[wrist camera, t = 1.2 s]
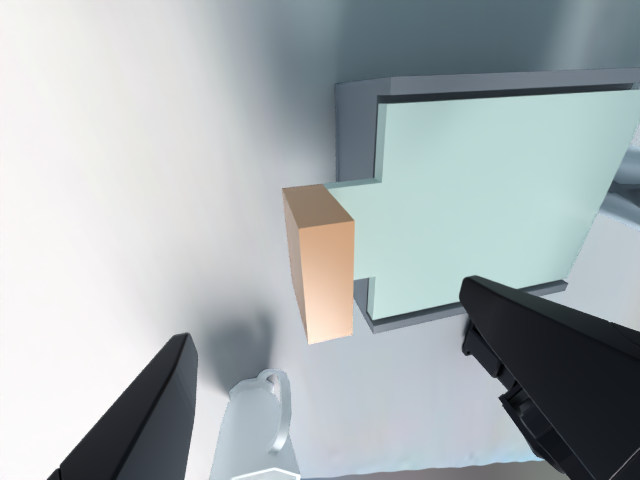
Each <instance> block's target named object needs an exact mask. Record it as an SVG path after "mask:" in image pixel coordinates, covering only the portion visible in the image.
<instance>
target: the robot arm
mask: <svg viewBox="0 0 640 480" xmlns="http://www.w3.org/2000/svg"><path fill="white" fill-rule="evenodd" d="M459 300H460V302H461V304H462V306H463V307H464V309H465V310H466V312H467V313H468V315H469V316H470V318H471V323H470V327H469V330H468V333H467V337H466V340H465V344H464V347H463V350H462V352H463V353H464V355H465V356H468V355H473V356H474V357H475V358H476V359H477V360H478V361H479V363H480V364H481V365H482V366H483V367H484V368H485V369H486V371H487V372H488V373H489V374H490V375H491V376H492V377H493V378H497V379H498V380H499V381H500V382H501V383H502V384H503V385H504V386H505V387H506V389H507V390H508V391H507V392H506V393H505V394H502V395H501V396H500V397H498V398H499V400H500V401H501V402H502V404H503V405H502V406H503V407H504V409H505V410H506V411H507V413H508V414H509V416H510V417H511V419H512V420H513V421H514V423H515V424H516V426H517V427H518V428H519V430H520V431H521V433H522V434H523V436H524V437H525V439H526V441H527V443H528V445H529V446H530V448H531V450H532V452H533V453H534V454H535V455H536V456H537V457H539V458H542V459H545V460H546V461H547V462H548V463H549V464H550V465H552V466H553V467H554V468H555V469H556V470H558V471H559V472H561V473H563V474H565V473H566V475H567V476H568V477H569V478H570V479H571V480H640V332H639V331H636V330H633V329H630V328H627V327H624V326H621V325H618V324H616V323H613V322H608V321H607V320H604V319H601V318H598V317H595V316H592V315H589V314H587V313H584V312H581V311H578V310H575V309H572V308H569V307H567V306H564V305H561V304H558V303H555V302H552V301H549V300H546V299H544V298H541V297H538V296H535V295H532V294H529V293H526V292H523V291H521V290H518V289H515V288H512V287H509V286H506V285H503V284H500V283H498V282H495V281H492V280H489V279H486V278H483V277H480V276H477V275H473V276H467V277H465V278H464V279H463V281H462V284H461V288H460V293H459ZM197 368H198V354H197V350H196V348H195V345H194V342H193V340H192V337H191V335H190V334H189V333H182V334H177V335H174V336H173V337H171V339H170V340H169V341H168V342H167V343H166V344H165V345H164V347H163V348H162V349H161V350H160V351H159V352H158V353H157V355H156V356H155V357H154V358H153V359H152V360H151V361H150V363H149V364H148V365H147V366H146V367H145V368H144V369H143V370H142V372H141V373H140V374H139V375H138V376H137V377H136V378H135V380H134V381H133V382H132V383H131V384H130V385H129V386H128V388H127V389H126V390H125V391H124V392H123V393H122V394H121V396H120V397H119V398H118V399H117V400H116V401H115V402H114V404H113V405H112V406H111V407H110V408H109V409H108V410H107V412H106V413H105V414H104V415H103V416H102V417H101V418H100V420H99V421H98V422H97V423H96V424H95V425H94V426H93V428H92V429H91V430H90V431H89V432H88V433H87V434H86V435H85V437H84V438H83V439H82V440H81V441H80V442H79V443H78V445H77V446H76V447H75V448H74V449H73V450H72V451H71V453H70V454H69V455H68V456H67V457H66V458H65V459H64V461H63V462H62V463H61V464H60V468H57V469H56V470H55V471H54V472H53V473H52V474H51V475H50V476H49V477H48V479H47V480H184V478H185V472H186V466H187V460H188V454H189V448H190V442H191V436H192V430H193V424H194V416H195V405H196V387H197Z"/></svg>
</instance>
